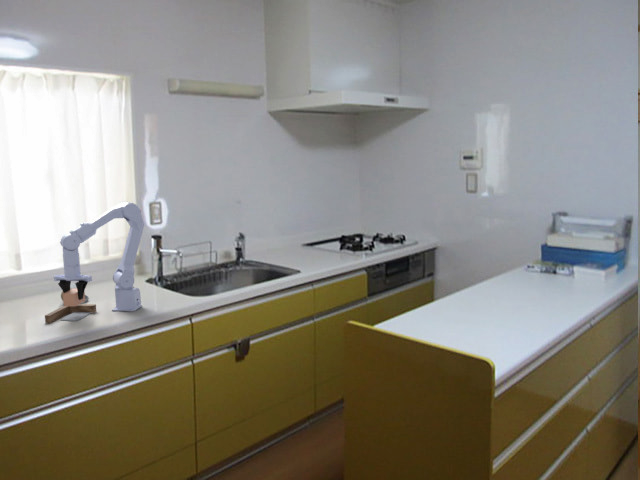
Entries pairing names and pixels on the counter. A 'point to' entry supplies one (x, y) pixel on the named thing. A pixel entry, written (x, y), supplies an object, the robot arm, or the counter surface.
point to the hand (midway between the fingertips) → (74, 298)
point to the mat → (75, 316)
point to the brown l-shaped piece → (67, 309)
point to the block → (72, 298)
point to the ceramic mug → (73, 286)
